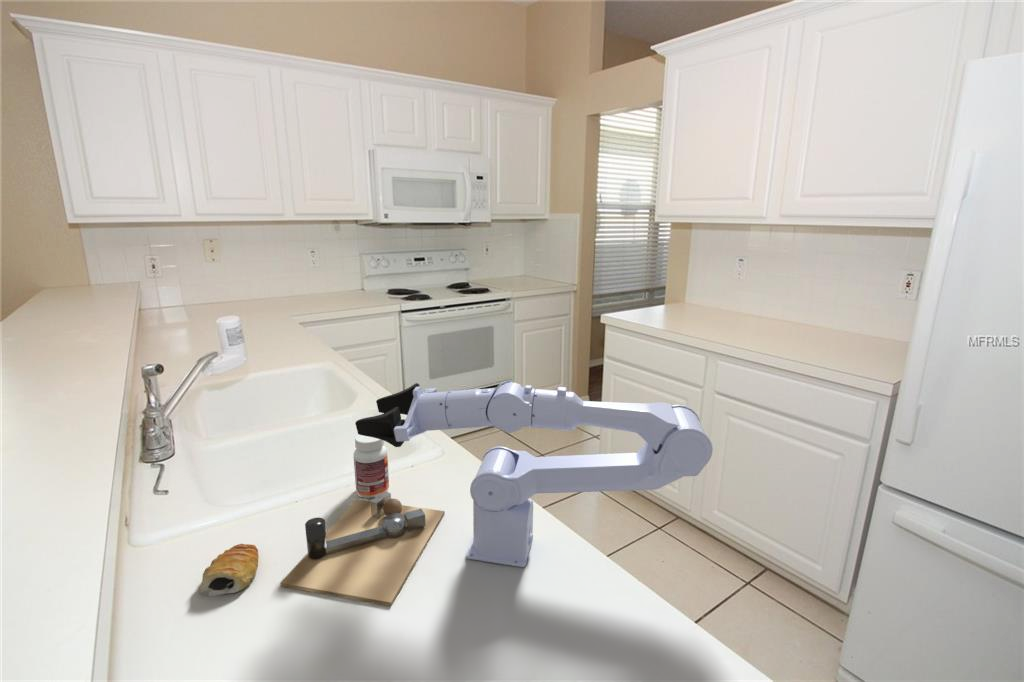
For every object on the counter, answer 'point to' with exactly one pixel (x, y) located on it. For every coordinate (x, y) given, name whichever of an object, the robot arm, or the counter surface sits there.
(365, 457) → the pill bottle
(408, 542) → the board
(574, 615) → the counter surface
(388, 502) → the brown ball
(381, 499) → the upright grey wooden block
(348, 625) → the counter surface
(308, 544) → the lever
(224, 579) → the pastry
